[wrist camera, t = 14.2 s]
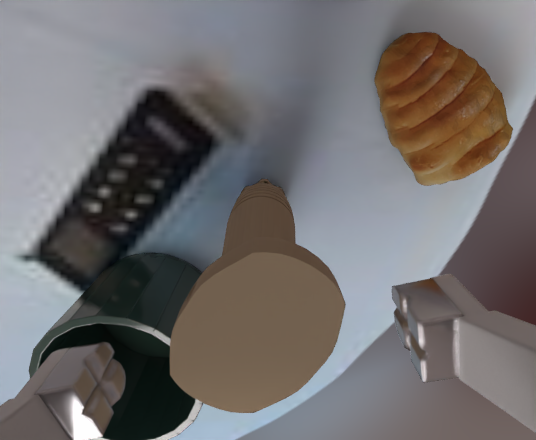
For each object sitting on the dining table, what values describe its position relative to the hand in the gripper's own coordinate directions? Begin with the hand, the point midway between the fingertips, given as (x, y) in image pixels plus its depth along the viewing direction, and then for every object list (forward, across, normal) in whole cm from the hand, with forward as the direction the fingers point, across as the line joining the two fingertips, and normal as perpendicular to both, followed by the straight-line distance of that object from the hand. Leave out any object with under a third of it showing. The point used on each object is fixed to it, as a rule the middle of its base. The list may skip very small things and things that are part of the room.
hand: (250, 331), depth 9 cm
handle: (+16, 0, +2) cm, 16 cm away
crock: (+16, +11, +9) cm, 21 cm away
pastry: (+16, -12, -2) cm, 20 cm away
